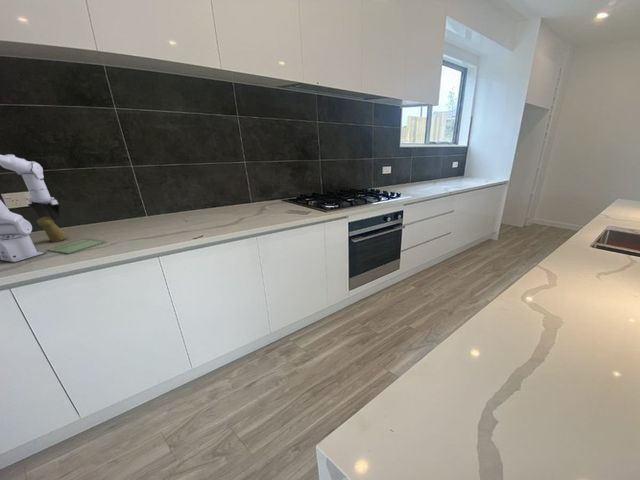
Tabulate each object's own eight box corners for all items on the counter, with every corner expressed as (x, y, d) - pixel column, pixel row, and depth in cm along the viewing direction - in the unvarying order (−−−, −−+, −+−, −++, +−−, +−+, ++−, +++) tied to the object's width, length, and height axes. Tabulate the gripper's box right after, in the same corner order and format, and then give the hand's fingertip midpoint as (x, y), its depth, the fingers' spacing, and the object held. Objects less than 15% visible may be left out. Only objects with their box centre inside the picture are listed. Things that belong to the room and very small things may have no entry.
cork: (52, 243, 139) (36, 223, 132) (48, 238, 142) (32, 218, 134) (68, 237, 143) (53, 218, 136) (64, 232, 145) (49, 213, 138)
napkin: (68, 253, 128) (68, 252, 128) (48, 250, 131) (47, 249, 130) (103, 242, 141) (103, 241, 140) (84, 239, 143) (83, 238, 143)
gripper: (60, 188, 135) (72, 217, 141) (37, 186, 138) (49, 215, 144) (41, 191, 129) (54, 221, 134) (17, 189, 132) (30, 218, 137)
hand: (50, 218), depth 139 cm, fingers open, 7 cm apart
